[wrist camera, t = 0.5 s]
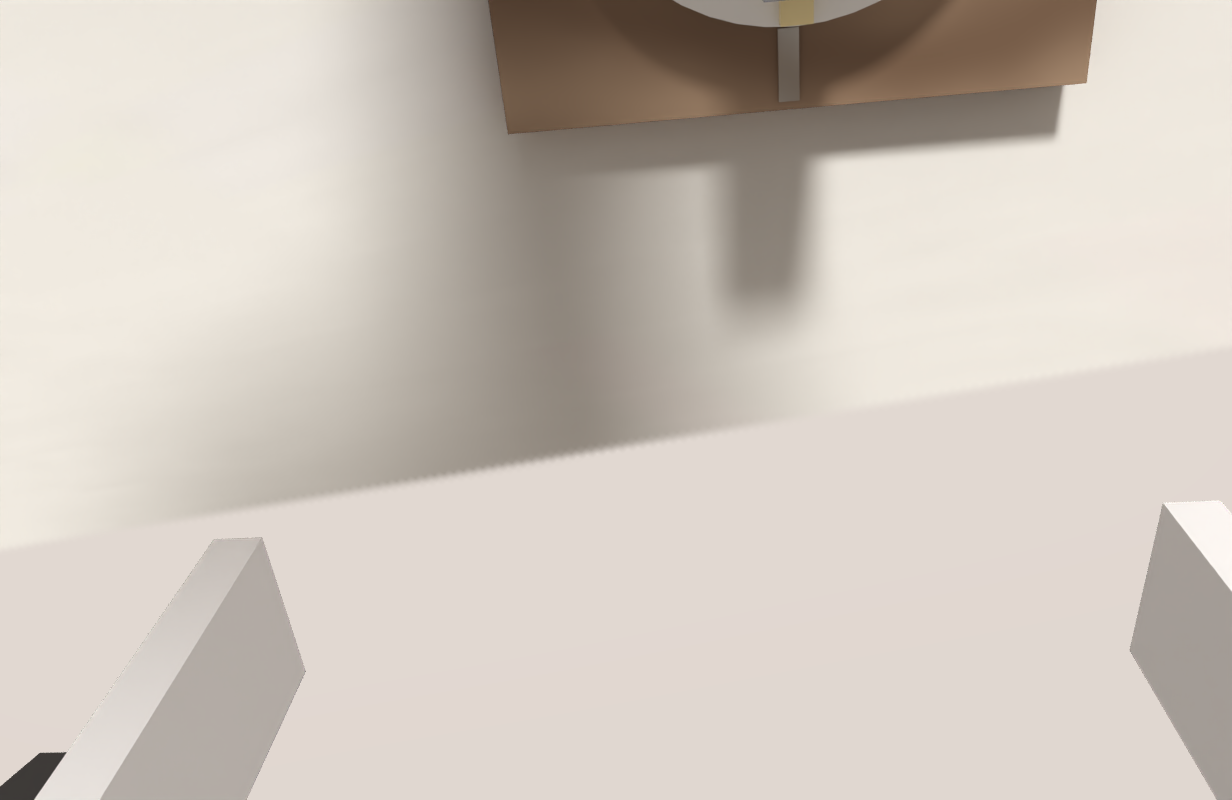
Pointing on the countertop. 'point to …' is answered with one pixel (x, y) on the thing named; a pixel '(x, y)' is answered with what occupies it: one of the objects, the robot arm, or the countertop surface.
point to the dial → (776, 10)
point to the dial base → (770, 57)
